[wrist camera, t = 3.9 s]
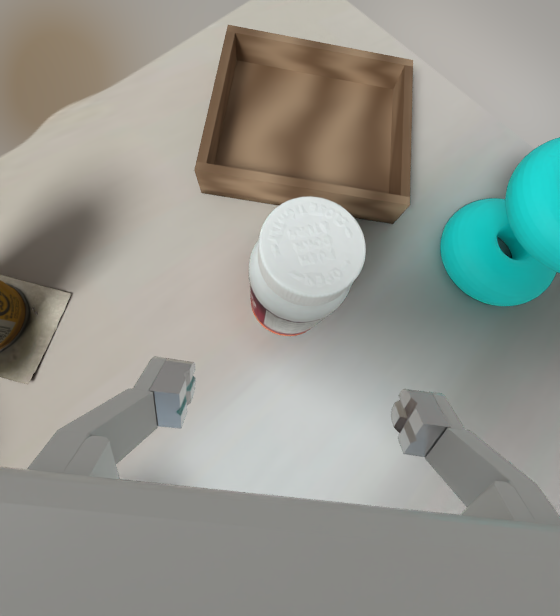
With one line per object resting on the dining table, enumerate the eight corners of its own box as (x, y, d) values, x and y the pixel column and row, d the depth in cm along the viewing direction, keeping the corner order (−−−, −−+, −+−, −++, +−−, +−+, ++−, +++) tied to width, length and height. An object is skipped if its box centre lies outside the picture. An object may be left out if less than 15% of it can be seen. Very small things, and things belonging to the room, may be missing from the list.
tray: (397, 90, 30) (413, 60, 27) (393, 223, 27) (409, 205, 24) (230, 59, 29) (227, 24, 26) (201, 192, 26) (194, 169, 23)
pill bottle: (255, 263, 25) (254, 176, 14) (324, 272, 25) (378, 194, 14) (246, 333, 23) (237, 298, 12) (320, 341, 24) (375, 314, 13)
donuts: (672, 135, 18) (711, 280, 16) (528, 217, 28) (540, 315, 26) (527, 112, 18) (546, 259, 16) (431, 204, 28) (435, 302, 25)
